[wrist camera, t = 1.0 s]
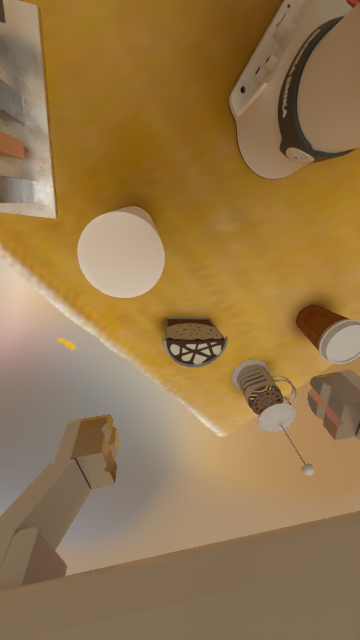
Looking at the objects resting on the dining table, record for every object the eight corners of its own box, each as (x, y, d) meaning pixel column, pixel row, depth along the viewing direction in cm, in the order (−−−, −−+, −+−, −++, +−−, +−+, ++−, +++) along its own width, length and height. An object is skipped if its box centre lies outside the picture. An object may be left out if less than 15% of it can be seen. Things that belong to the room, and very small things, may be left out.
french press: (224, 374, 60) (271, 476, 38) (263, 347, 58) (338, 438, 36) (243, 395, 64) (296, 499, 42) (281, 371, 62) (357, 466, 40)
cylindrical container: (104, 223, 42) (57, 248, 19) (136, 196, 40) (127, 191, 18) (131, 257, 45) (117, 312, 22) (162, 233, 44) (181, 267, 21)
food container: (158, 342, 53) (160, 370, 45) (159, 317, 51) (162, 342, 42) (212, 342, 55) (225, 369, 46) (215, 318, 53) (230, 342, 44)
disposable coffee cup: (336, 314, 56) (381, 340, 46) (304, 342, 59) (340, 373, 48) (314, 290, 53) (357, 312, 42) (281, 321, 55) (314, 350, 45)
